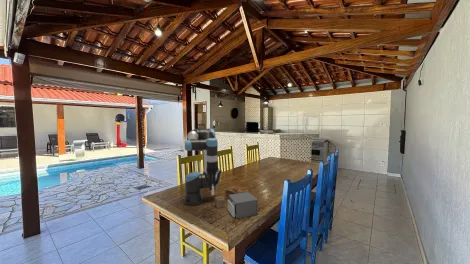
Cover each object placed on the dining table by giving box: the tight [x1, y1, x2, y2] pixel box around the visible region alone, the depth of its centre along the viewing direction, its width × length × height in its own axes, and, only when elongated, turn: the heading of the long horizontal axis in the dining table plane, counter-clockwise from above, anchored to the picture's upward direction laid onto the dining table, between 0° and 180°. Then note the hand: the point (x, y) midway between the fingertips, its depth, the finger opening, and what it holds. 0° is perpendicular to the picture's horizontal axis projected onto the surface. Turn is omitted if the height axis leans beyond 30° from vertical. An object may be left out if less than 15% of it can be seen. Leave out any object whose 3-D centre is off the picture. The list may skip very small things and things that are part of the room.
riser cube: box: [214, 195, 226, 209], centre depth 146 cm, size 6×6×6 cm
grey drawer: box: [227, 199, 236, 218], centre depth 136 cm, size 13×16×7 cm
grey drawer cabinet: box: [228, 191, 258, 219], centre depth 137 cm, size 15×16×10 cm
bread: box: [224, 185, 251, 200], centre depth 158 cm, size 19×11×10 cm, turn 59°
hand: (212, 194), depth 132 cm, fingers closed
